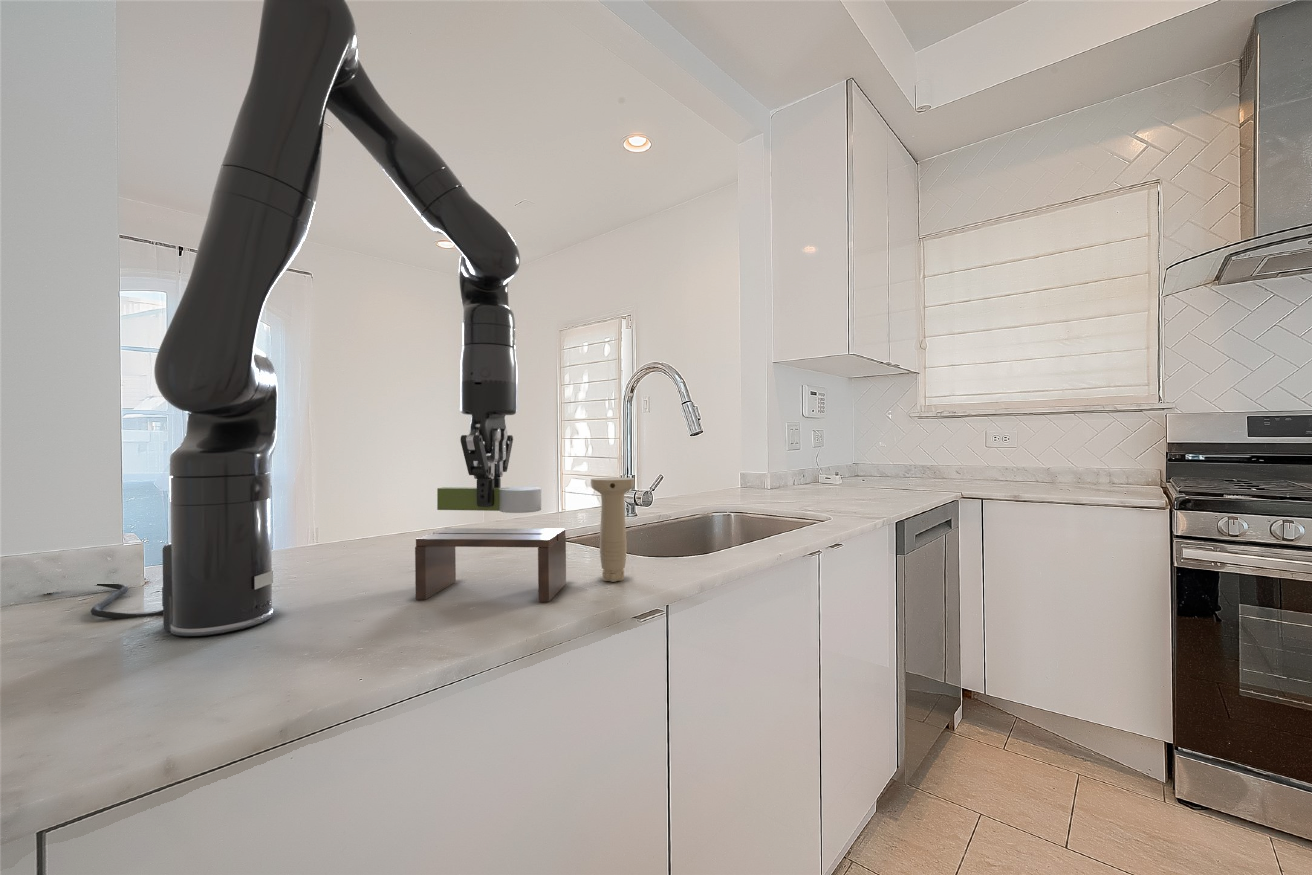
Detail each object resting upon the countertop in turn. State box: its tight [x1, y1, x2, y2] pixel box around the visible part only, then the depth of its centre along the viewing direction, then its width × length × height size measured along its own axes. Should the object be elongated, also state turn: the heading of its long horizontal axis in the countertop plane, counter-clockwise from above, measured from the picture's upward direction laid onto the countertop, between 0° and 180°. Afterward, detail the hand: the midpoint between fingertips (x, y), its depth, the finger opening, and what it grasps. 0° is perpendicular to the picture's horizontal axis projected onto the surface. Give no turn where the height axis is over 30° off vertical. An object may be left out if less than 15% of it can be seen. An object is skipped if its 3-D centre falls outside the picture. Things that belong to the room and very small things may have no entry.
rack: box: [414, 527, 567, 603], centre depth 77 cm, size 18×9×8 cm, turn 85°
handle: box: [590, 477, 635, 583], centre depth 83 cm, size 5×6×15 cm
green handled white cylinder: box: [436, 486, 542, 514], centre depth 78 cm, size 14×6×3 cm, turn 85°
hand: (488, 504), depth 77 cm, fingers closed on green handled white cylinder, 2 cm apart
